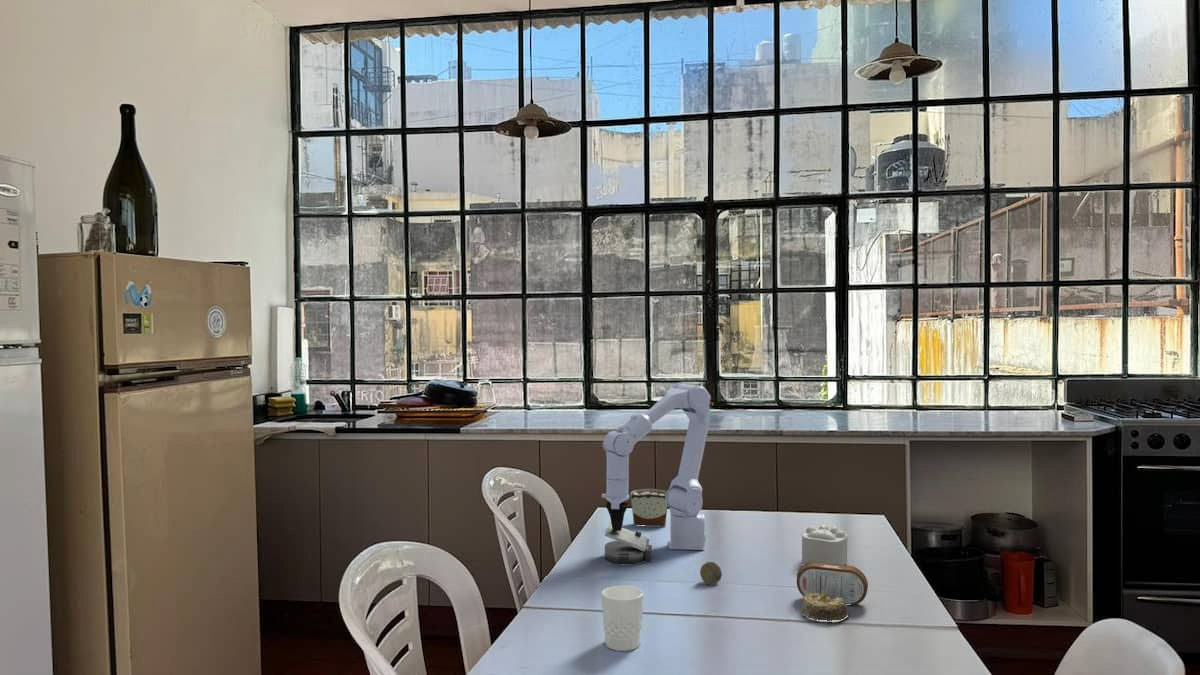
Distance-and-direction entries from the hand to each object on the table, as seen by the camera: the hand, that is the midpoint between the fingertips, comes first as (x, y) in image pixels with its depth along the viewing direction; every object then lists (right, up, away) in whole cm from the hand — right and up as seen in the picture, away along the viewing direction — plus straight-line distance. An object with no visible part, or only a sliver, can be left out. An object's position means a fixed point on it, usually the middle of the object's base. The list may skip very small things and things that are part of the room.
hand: (617, 530), depth 204 cm
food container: (+11, -6, +33) cm, 36 cm away
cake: (+43, -9, -38) cm, 58 cm away
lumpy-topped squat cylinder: (+53, -7, -3) cm, 54 cm away
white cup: (0, -9, -53) cm, 54 cm away
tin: (+46, -8, -31) cm, 57 cm away
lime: (+21, -8, -19) cm, 30 cm away
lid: (+3, -2, 0) cm, 3 cm away
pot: (+2, -7, 0) cm, 8 cm away
